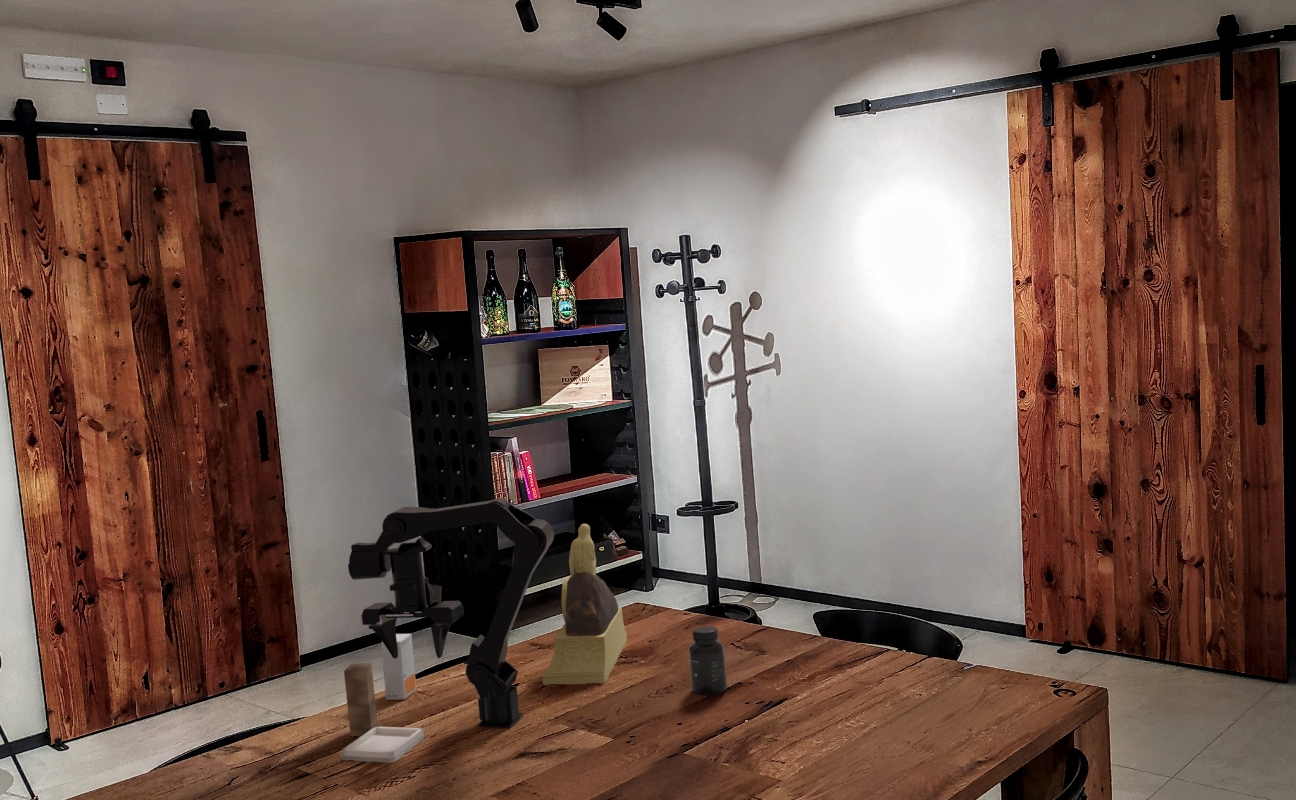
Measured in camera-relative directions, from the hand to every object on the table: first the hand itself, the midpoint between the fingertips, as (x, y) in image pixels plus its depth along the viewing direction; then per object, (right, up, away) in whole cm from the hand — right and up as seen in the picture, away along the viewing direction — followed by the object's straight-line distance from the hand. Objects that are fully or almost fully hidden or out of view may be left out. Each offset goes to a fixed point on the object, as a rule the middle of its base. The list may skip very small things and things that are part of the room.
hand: (417, 657), depth 204 cm
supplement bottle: (+55, -8, +7) cm, 56 cm away
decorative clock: (+30, -9, +31) cm, 44 cm away
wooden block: (-10, -14, -1) cm, 17 cm away
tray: (-4, -14, -10) cm, 17 cm away
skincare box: (-7, -12, +19) cm, 24 cm away
